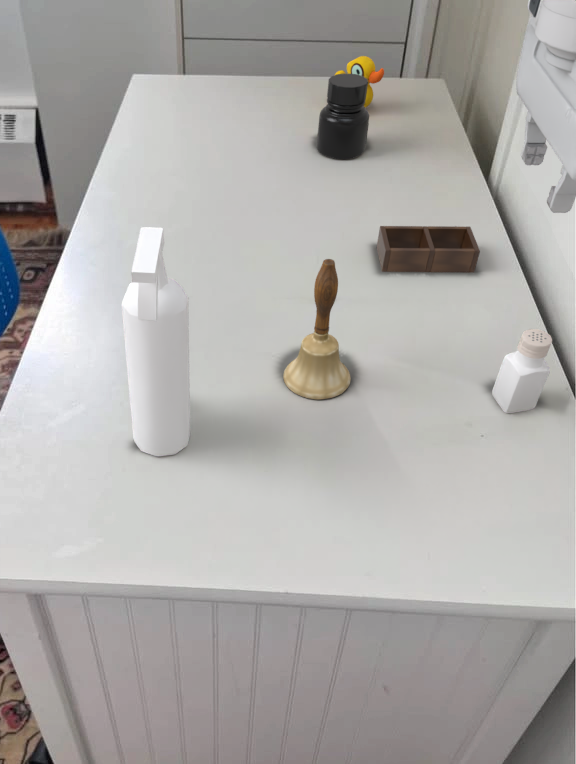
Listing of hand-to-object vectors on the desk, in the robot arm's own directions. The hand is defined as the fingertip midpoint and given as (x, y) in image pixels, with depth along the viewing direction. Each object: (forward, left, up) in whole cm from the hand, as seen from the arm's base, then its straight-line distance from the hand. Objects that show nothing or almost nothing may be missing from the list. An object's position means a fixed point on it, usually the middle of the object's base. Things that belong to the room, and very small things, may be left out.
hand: (543, 184), depth 67 cm
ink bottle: (+11, -69, -26) cm, 75 cm away
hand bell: (+19, -3, -26) cm, 32 cm away
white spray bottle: (+37, +7, -26) cm, 46 cm away
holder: (+2, -29, -26) cm, 39 cm away
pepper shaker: (-4, +1, -26) cm, 27 cm away
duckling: (+7, -88, -26) cm, 92 cm away
